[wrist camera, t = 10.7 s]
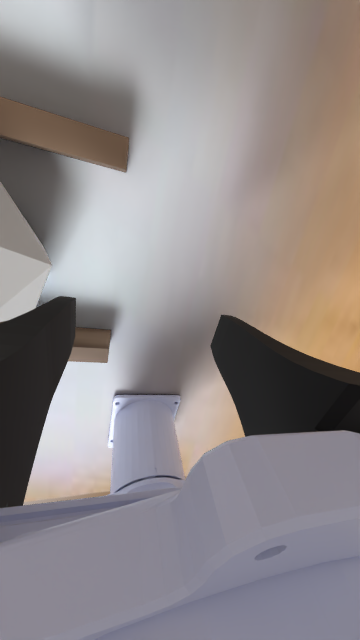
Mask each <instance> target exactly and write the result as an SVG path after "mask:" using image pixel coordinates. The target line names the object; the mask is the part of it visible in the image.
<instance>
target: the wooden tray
mask: <svg viewBox="0 0 360 640" xmlns="http://www.w3.org/2000/svg"><path fill="white" fill-rule="evenodd" d="M0 138H3V139H6V140H10V141H13V142H17V143H21V144H24V145H28V146H31V147H35V148H39V149H42V150H46V151H50V152H53V153H57V154H60V155H64V156H68V157H71V158H75V159H79V160H82V161H86V162H89V163H93V164H97V165H100V166H104V167H107V168H111V169H115V170H118V171H122V172H126V169H127V159H128V148H129V138H128V137H125V136H122V135H119V134H116V133H112V132H109V131H106V130H103V129H100V128H97V127H94V126H91V125H87V124H84V123H81V122H78V121H75V120H72V119H69V118H66V117H62V116H59V115H56V114H53V113H50V112H47V111H44V110H41V109H37V108H34V107H31V106H28V105H25V104H22V103H19V102H16V101H12V100H9V99H6V98H3V97H0ZM3 322H5V321H3ZM3 322H0V323H3ZM110 335H111V330H104V329H91V328H79V327H75V340H74V344H73V348H72V351H71V355H70V357H69V360H68V361H76V362H100V363H107V362H108V353H109V345H110Z"/></svg>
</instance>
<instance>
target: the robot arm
mask: <svg viewBox="0 0 360 640" xmlns="http://www.w3.org/2000/svg"><path fill="white" fill-rule="evenodd" d="M75 318H76V298H72V297H63V296H60V297H57V298H55V299H53V300H51V301H49V302H47V303H45V304H43V305H41V306H39V307H37V308H35V309H33V310H31V311H29V312H27V313H24V314H22V315H20V316H17V317H15V318H13V319H10V320H8V321H5V322H3V323H0V640H360V373H359V372H355V371H352V370H349V369H346V368H342V367H339V366H336V365H333V364H330V363H327V362H324V361H322V360H319V359H316V358H314V357H311V356H309V355H306V354H304V353H302V352H299V351H297V350H295V349H293V348H291V347H289V346H287V345H284V344H283V343H281V342H279V341H277V340H275V339H273V338H271V337H270V336H268V335H266V334H264V333H263V332H261V331H259V330H257V329H256V328H254V327H252V326H251V325H249V324H247V323H245V322H244V321H242V320H240V319H238V318H236V317H233V316H228V315H221V317H220V320H219V323H218V326H217V329H216V332H215V334H214V337H213V340H212V343H211V349H212V353H213V356H214V360H215V362H216V365H217V367H218V369H219V371H220V373H221V375H222V377H223V379H224V382H225V384H226V386H227V388H228V390H229V392H230V394H231V396H232V399H233V401H234V403H235V406H236V409H237V412H238V415H239V418H240V420H241V424H242V427H243V430H244V433H245V437H243V438H238V439H234V440H229V441H226V442H224V443H222V444H221V445H219V446H217V447H215V448H213V449H212V450H210V451H208V452H206V453H204V455H203V456H202V457H201V458H200V459H199V460H198V462H197V463H196V464H195V465H194V466H193V468H192V469H191V470H190V472H189V474H188V476H187V478H186V480H185V476H184V471H183V466H182V461H181V456H180V451H179V446H178V441H177V435H176V430H175V425H174V419H175V416H176V413H177V410H178V407H179V403H180V400H181V398H180V396H179V395H116V396H114V398H113V406H112V414H111V422H110V431H109V439H108V447H109V448H113V453H112V470H111V487H110V494H109V495H107V496H101V497H92V498H83V499H75V500H66V501H58V502H49V503H41V504H32V505H24V506H23V502H24V498H25V494H26V490H27V486H28V482H29V478H30V474H31V471H32V467H33V463H34V459H35V455H36V452H37V448H38V444H39V441H40V437H41V434H42V430H43V427H44V423H45V420H46V416H47V413H48V410H49V406H50V403H51V401H52V398H53V395H54V393H55V390H56V388H57V386H58V383H59V381H60V379H61V376H62V374H63V371H64V369H65V367H66V364H67V362H68V360H69V357H70V355H71V351H72V348H73V344H74V340H75Z"/></svg>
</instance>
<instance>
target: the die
mask: <svg viewBox="0 0 360 640" xmlns="http://www.w3.org/2000/svg"><path fill="white" fill-rule="evenodd" d="M51 267H52V264H51V262H50V260H49V258H48V255H47V253H46V251H45V249H44V247H43V245H42V243H41V242H40V240H39V239H38V237H37V236H36V234H35V233H34V231H33V230H32V228H31V227H30V225H29V224H28V222H27V221H26V219H25V218H24V216H23V215H22V213H21V212H20V210H19V209H18V207H17V206H16V204H15V203H14V201H13V200H12V198H11V197H10V195H9V194H8V192H7V191H6V189H5V188H4V186H3V185H2V183H1V182H0V322H3V321H7V320H10V319H13V318H15V317H17V316H20V315H22V314H24V313H27V312H29V311H31V310H33V309H35V308H36V306H37V303H38V301H39V298H40V295H41V293H42V290H43V287H44V285H45V282H46V280H47V277H48V274H49V272H50V269H51Z"/></svg>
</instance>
